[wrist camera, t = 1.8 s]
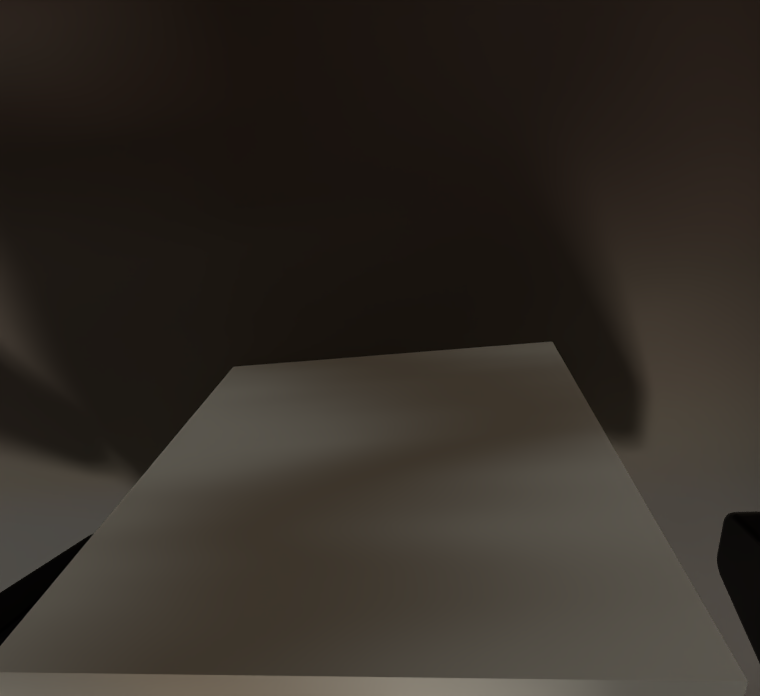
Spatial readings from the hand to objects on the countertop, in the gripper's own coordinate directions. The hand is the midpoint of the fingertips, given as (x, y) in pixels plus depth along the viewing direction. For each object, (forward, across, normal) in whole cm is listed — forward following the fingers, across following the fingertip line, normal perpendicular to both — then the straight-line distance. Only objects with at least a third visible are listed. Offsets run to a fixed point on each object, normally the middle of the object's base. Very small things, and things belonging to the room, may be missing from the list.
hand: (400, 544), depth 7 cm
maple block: (+1, 0, 0) cm, 1 cm away
